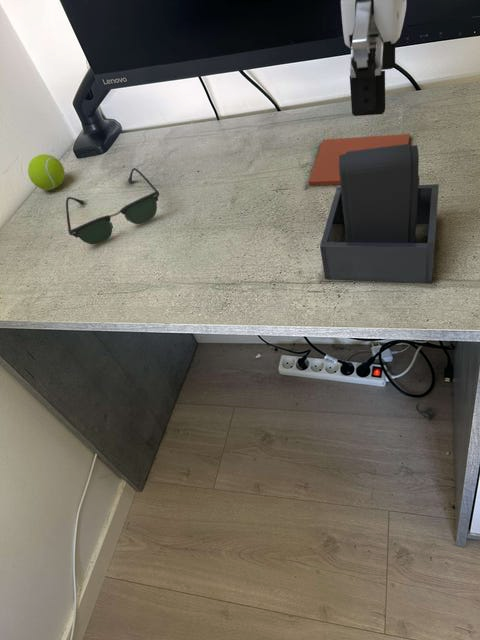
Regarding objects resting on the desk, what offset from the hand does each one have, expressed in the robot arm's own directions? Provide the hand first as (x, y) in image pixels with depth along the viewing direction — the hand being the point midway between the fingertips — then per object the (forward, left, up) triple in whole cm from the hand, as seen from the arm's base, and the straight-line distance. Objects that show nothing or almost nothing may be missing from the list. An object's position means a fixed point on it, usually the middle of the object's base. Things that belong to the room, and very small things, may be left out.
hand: (374, 90), depth 52 cm
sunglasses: (+49, -9, -23) cm, 54 cm away
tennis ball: (+69, -18, -23) cm, 75 cm away
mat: (+6, -22, -22) cm, 32 cm away
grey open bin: (0, 0, -22) cm, 22 cm away
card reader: (0, 0, -23) cm, 23 cm away
